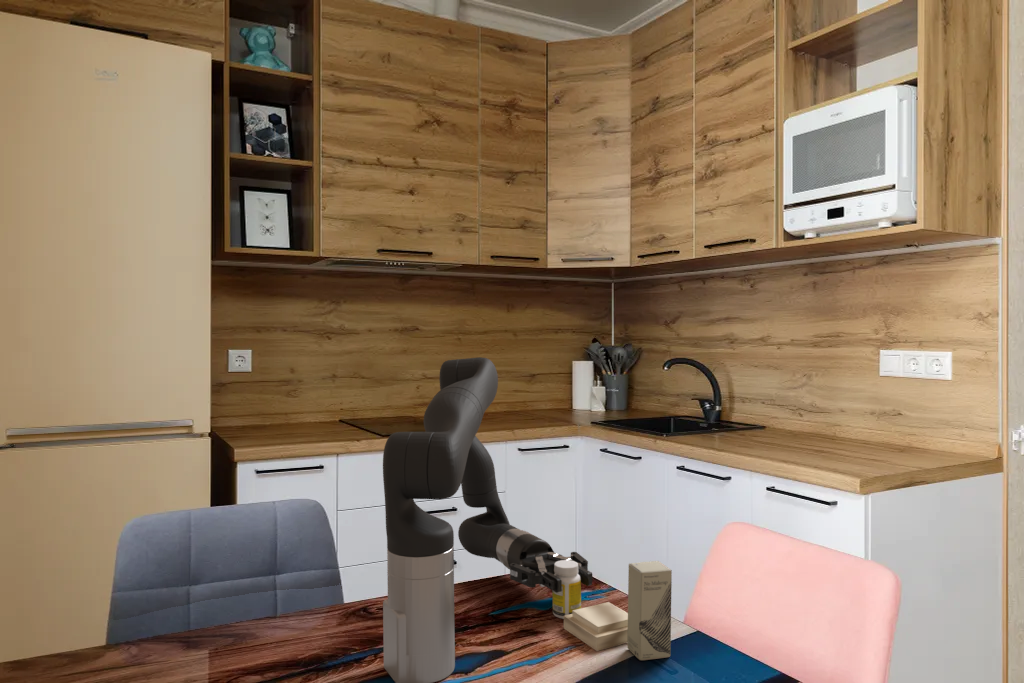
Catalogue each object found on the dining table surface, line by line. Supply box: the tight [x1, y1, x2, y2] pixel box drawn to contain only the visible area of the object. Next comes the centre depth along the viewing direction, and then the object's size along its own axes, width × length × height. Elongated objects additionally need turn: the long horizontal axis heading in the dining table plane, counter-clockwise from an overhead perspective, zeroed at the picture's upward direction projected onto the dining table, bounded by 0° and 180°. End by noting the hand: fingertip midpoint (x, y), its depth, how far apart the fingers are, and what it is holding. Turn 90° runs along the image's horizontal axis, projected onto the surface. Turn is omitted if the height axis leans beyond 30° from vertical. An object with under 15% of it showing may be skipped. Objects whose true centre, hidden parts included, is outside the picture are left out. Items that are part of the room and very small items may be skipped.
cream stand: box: [563, 601, 628, 652], centre depth 110 cm, size 9×9×3 cm
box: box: [626, 560, 673, 661], centre depth 104 cm, size 5×4×13 cm
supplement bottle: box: [551, 560, 582, 620], centre depth 118 cm, size 5×5×8 cm
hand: (575, 582), depth 116 cm, fingers open, 5 cm apart
